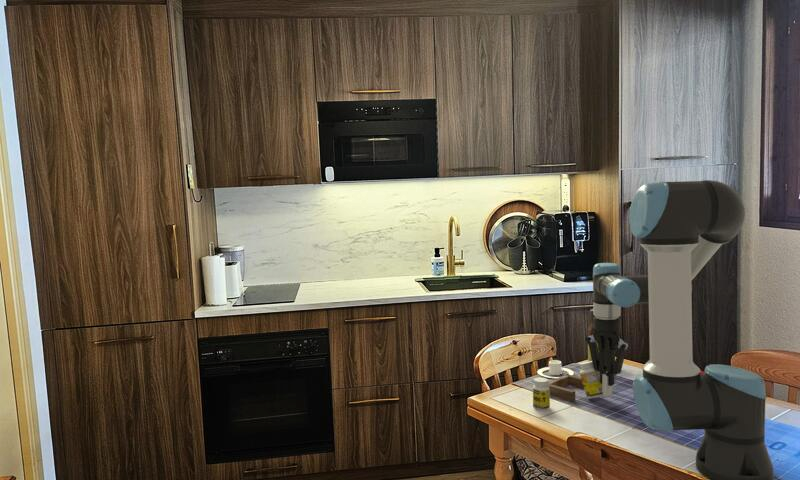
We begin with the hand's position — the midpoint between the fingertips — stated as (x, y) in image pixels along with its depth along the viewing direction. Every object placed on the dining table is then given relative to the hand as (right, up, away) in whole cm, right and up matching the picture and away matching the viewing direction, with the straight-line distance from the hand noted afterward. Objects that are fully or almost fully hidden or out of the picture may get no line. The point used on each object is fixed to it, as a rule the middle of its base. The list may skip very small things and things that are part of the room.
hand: (607, 395), depth 179 cm
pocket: (-8, -2, +9) cm, 12 cm away
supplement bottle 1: (-20, -3, -2) cm, 20 cm away
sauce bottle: (+8, +1, +33) cm, 34 cm away
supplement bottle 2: (-2, -1, +2) cm, 4 cm away
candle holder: (-8, 0, +28) cm, 29 cm away
